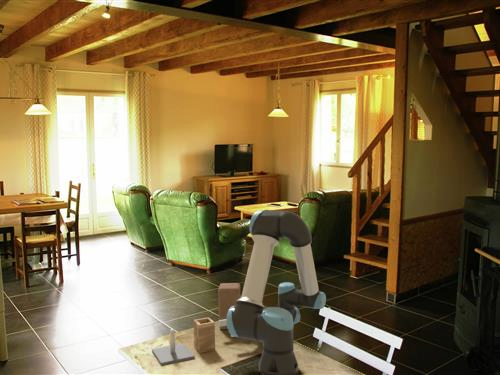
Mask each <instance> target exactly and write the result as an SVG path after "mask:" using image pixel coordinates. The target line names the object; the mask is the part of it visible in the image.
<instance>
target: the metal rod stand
mask: <svg viewBox="0 0 500 375" xmlns="http://www.w3.org/2000/svg"><path fill="white" fill-rule="evenodd" d="M175 332H176V331H175V329H173V328H171V329H170V330H169V345H167V346H166V345H165V346H161V347H155V348H151V352H152V354H153V353H154V354H153V355H154V356H155V359H156V360H157V361H158V363H159V364H160V366H165V365H169V364H173V363H175V364H176V363H179V362H184V361H187V360H192V359H196V358H195V357H196V355H195V354H194V353H193V352H192V351H191V350H190V349H189V347H188V346H187V345H186V344H185V343H184V342H181V343H177V344H176V333H175Z"/></svg>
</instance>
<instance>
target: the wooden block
mask: <svg viewBox="0 0 500 375" xmlns="http://www.w3.org/2000/svg"><path fill="white" fill-rule="evenodd" d="M217 295H218V321H219V320H224V319H226V318H227V313H228V310H229V309H230V307H232V306H235V305H236V301H237V300H238V299H240V298H241V283H239V282H228V283H227V282H223V283H220V284H219V287H218V294H217ZM218 327H219V326H218ZM219 330H228V328H227V325H226V326H221V327H219Z"/></svg>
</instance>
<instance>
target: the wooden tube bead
mask: <svg viewBox="0 0 500 375" xmlns="http://www.w3.org/2000/svg"><path fill="white" fill-rule="evenodd" d="M215 324H216V322H215V321H214V320H213V319H211V317H203V318H197V319H193V346H194V348H195V350H196V351H197V353H199V354H201V353H205V352H210V351H215V350H216V329H215V328H216V326H215Z"/></svg>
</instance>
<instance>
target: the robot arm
mask: <svg viewBox="0 0 500 375" xmlns="http://www.w3.org/2000/svg"><path fill="white" fill-rule="evenodd" d="M249 233H250V235H251V236H252V237H251V239H252V241H253V248H252V252H251V256H250V259H249V264H248V266H247V267H248V268H247V273H246V276H245V281H244V284H243V289H242V293H241V295H240V299H238V300H237V301H236V305H235V306H232V307H230V309H229V310H228V313H227V318H226V319H224V320H219V319H218V327H221V326H226V325H227V328H228V329H227V331H228V333H229V334H230V337H231V338H234V337H236V338H238V339H241V340H242V339H245V340H250V341H255V342H260V343H262V352H261V356H260V359H259V363H258V372H259V371H260V372H261V373H262V374H264V375H298V373H299V362H298V360H297V357H296V354H295V351H294V325H296V324H297V323H299V322H300V320H301V314H300V312H301V311H300V310H299V308H298V307H303V308H311V309H316V310H322V309H324V308H325V305H326V302H327V296H326V294H325V292H323V291H320V290H319V284H318V278H317V273H316V269H315V268H316V267H315V263H314V261H315V260H314V256H313V251H312V247H311V244H312V243H313V242H312V241H313V238H312V234H311V231H310V228H309V226H308V224H307V223H306V221H305V220H304V219H303V218H302V217H301V216H300V215H298V214H297V213H296V212H293V211H291V210H272V209H271V210H270V209H262V210H261V209H260V210H256V211H255V212H254V213H253V214H252V216H251V218H250V220H249ZM281 239H286V240H288V242H289V245H290V246H291V247H292V250H293V255H294V259H295V263H296V269H297V273H298V274H297V275H298V278H299V282H300V287H301V288H300V289H299V288H296V287H295V284H294V283H293V282H285V281H284V282H280V284H278V289H277V291H278V292H277V296H278V297H277V298H278V302H277V303H278V305H277V306H267V307H265V306H264V304H263V299H264V296H265V290H266V286H267V282H268V277H269V273H270V268H271V263H272V259H273V254H274V249H275V247H276V246H278V245H279V244H280V240H281ZM297 306H298V307H297Z"/></svg>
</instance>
